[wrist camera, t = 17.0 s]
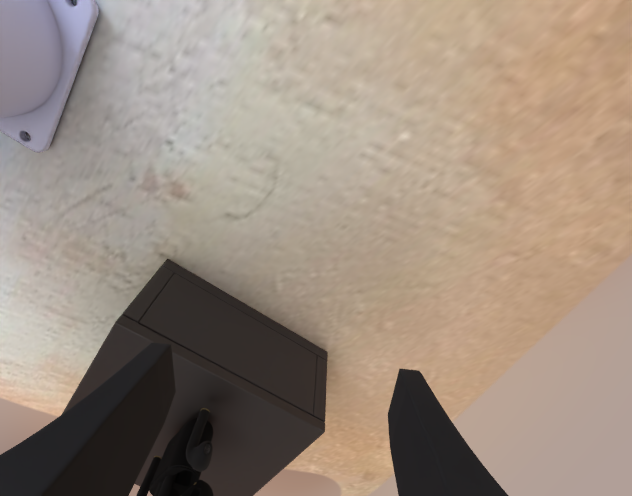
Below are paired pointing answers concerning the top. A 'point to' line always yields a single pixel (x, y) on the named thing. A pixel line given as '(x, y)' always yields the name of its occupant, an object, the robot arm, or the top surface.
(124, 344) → the case lid
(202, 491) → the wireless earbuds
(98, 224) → the top surface
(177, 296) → the case
